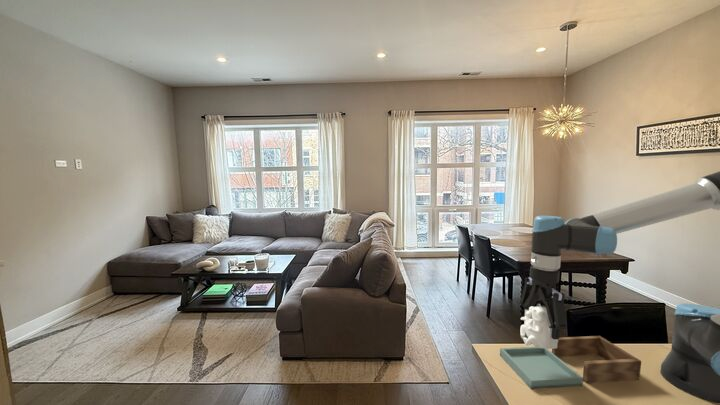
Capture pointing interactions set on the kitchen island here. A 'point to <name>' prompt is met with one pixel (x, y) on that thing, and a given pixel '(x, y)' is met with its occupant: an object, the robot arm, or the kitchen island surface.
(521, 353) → the tray
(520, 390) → the kitchen island surface
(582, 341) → the wooden open box
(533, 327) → the figurine
